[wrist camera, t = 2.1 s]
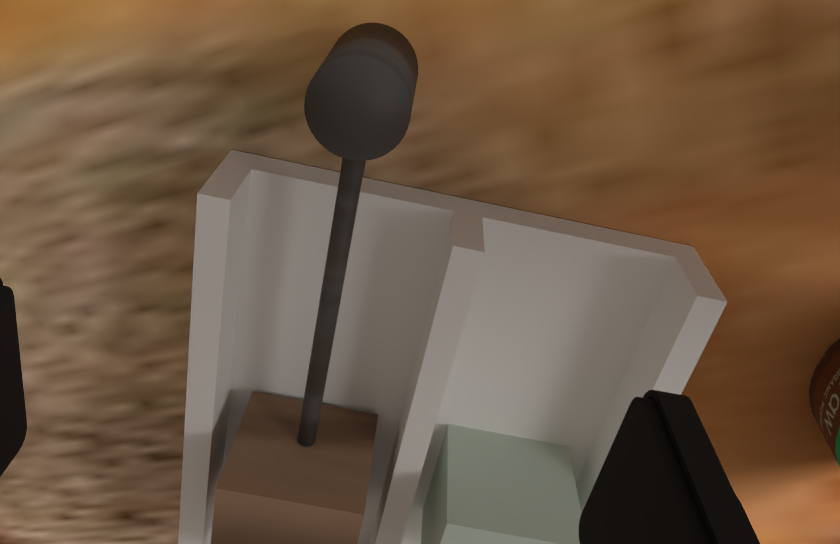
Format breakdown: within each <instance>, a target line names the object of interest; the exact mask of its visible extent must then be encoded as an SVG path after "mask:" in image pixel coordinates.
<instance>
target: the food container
mask: <svg viewBox="0 0 840 544" xmlns="http://www.w3.org/2000/svg"><path fill="white" fill-rule="evenodd" d="M809 395H810V405H811V409H812V413H813V415H814V417H815V419H816V421H817V423H818V425H819V427H820V429H821V431H822V433H823V435H824V437H825V438H826V440H827V442H828V444H829V446H830V448H831V450H832V452H833V454H834V456H835V458H836V460H837V462H838V464H839V466H840V339H839V340H837V341H836V342H835V343H834V344H833V345H832V346H831V347H830V348H829V349H828V350H827V352H826V353H825V355H824V356H823V358H822V359H821V361H820V362H819V364H818V365H817V367H816V370H815V372H814V375H813V377H812V380H811V385H810V390H809Z"/></svg>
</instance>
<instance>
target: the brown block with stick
mask: <svg viewBox="0 0 840 544" xmlns="http://www.w3.org/2000/svg"><path fill="white" fill-rule="evenodd" d="M417 76H418V62H417V58H416V54H415V52H414V49H413V48H412V46H411V44H410V43H409V41H408V40H407V39H406V38H405V37H404V36H403V35H402V34H401V33H400V32H399V31H397V30H395V29H394V28H392V27H390V26H387V25H384V24H379V23H364V24H360V25H357V26H355V27H353V28H351V29H349V30H348V31H346V32H345V33H344V34H343V35H342V36H341V37H340V38H339V39H338V41H337V42H336V44H335V45H334V47H333V48H332V50H331V51H330V53H329V54H328V56H327V57H326V59H325V60H324V62H323V63H322V65H321V66H320V68H319V69H318V71H317V72H316V74H315V75H314V77H313V78H312V80H311V82H310V84H309V86H308V89H307V91H306V96H305V104H304V107H305V116H306V120H307V123H308V126H309V128H310V130H311V132H312V134H313V135H314V137H315V138H316V139H317V140H318V142H319V143H320V144H321V145H322V146H323V147H324V148H326V149H327V150H329V151H330V152H332V153H333V154H335V155H337V156H340V157H342V158H343V159H342V165H341V172H340V178H339V184H338V190H337V196H336V202H335V209H334V215H333V221H332V227H331V233H330V240H329V246H328V252H327V258H326V264H325V270H324V277H323V283H322V289H321V295H320V301H319V307H318V314H317V320H316V326H315V332H314V338H313V345H312V351H311V357H310V363H309V369H308V375H307V382H306V388H305V394H304V400H303V401H302V400H297V399H291V398H286V397H281V396H275V395H270V394H265V393H259V392H254V391H253V392H252V394H251V397H250V400H249V402H248V405H247V407H246V410H245V413H244V415H243V418H242V420H241V423H240V426H239V428H238V431H237V433H236V436H235V439H234V441H233V444H232V446H231V449H230V452H229V454H228V457H227V460H226V462H225V465H224V467H223V470H222V473H221V475H220V478H219V480H218V483H217V486H216V488H215V499H214V511H213V522H212V533H211V544H357V543H358V539H359V534H360V530H361V526H362V522H363V518H364V513H365V506H366V499H367V492H368V485H369V478H370V470H371V463H372V456H373V449H374V442H375V435H376V428H377V420H378V415H377V414H371V413H366V412H361V411H355V410H350V409H345V408H339V407H334V406H329V405H323V404H322V401H323V396H324V390H325V384H326V379H327V373H328V368H329V362H330V357H331V351H332V345H333V340H334V334H335V329H336V323H337V318H338V312H339V306H340V301H341V295H342V290H343V284H344V279H345V273H346V267H347V262H348V256H349V251H350V245H351V240H352V234H353V228H354V223H355V217H356V212H357V206H358V200H359V195H360V189H361V184H362V178H363V173H364V167H365V161H366V160H371V159H376V158H378V157H381V156H383V155H385V154H387V153H388V152H390V151H391V150H393V149H394V148H395V147H396V146H397V145H398V144H399V143H400V141H401V140H402V138H403V137H404V135H405V133H406V131H407V129H408V125H409V122H410V116H411V110H412V105H413V99H414V94H415V88H416V82H417Z"/></svg>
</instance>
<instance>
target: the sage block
mask: <svg viewBox="0 0 840 544" xmlns="http://www.w3.org/2000/svg"><path fill="white" fill-rule="evenodd" d="M581 514H582V513H581V508H580V503H579V498H578V493H577V488H576V482H575V477H574V472H573V467H572V462H571V456H570V451H569V446H564V445H559V444H553V443H548V442H543V441H538V440H532V439H527V438H522V437H516V436H511V435H506V434H500V433H495V432H490V431H484V430H479V429H474V428H468V427H463V426H458V425H453V424H448V426H447V430H446V433H445V436H444V439H443V443H442V446H441V449H440V453H439V456H438V459H437V463H436V466H435V469H434V473H433V476H432V479H431V483H430V486H429V489H428V493H427V496H426V499H425V503H424V506H423V513H422V532H421V544H580V541H579V530H578V529H579V521H580V517H581Z"/></svg>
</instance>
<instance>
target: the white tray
mask: <svg viewBox="0 0 840 544" xmlns="http://www.w3.org/2000/svg"><path fill="white" fill-rule="evenodd" d="M339 178H340V172H336V171H331V170H326V169H321V168H317V167H312V166H307V165H302V164H298V163H293V162H288V161H283V160H278V159H274V158H269V157H264V156H259V155H255V154H250V153H245V152H240V151H235V150H231V151H230V152H229V153H228V155H227V156H226V157H225V159H224V160H223V161H222V162H221V164H220V165H219V166H218V167H217V169H216V170H215V171H214V173H213V174H212V175H211V176H210V178H209V179H208V180H207V182H206V183H205V184H204V185H203V187H202V188H201V189H200V191H199V192H198V193H197V208H196V226H195V244H194V263H193V281H192V299H191V318H190V336H189V354H188V372H187V391H186V409H185V427H184V446H183V464H182V482H181V501H180V519H179V537H178V544H211V533H212V522H213V511H214V499H215V488H216V486H217V483H218V480H219V478H220V475H221V473H222V470H223V467H224V465H225V462H226V460H227V457H228V454H229V452H230V449H231V446H232V444H233V441H234V439H235V436H236V433H237V431H238V428H239V426H240V423H241V420H242V418H243V415H244V413H245V410H246V407H247V405H248V402H249V400H250V397H251V394H252V392H253V391H254V392H259V393H265V394H270V395H275V396H281V397H286V398H291V399H297V400H302V401H303V400H304V394H305V388H306V382H307V375H308V369H309V363H310V357H311V351H312V345H313V338H314V332H315V326H316V320H317V314H318V307H319V301H320V295H321V289H322V283H323V277H324V270H325V264H326V258H327V252H328V246H329V240H330V233H331V227H332V221H333V215H334V209H335V202H336V196H337V190H338V184H339ZM726 304H727V300H726V298H725V297H724V295H723V294H722V292H721V290H720V289H719V287H718V285H717V284H716V282H715V281H714V279H713V277H712V276H711V274H710V273H709V271H708V269H707V268H706V266H705V264H704V263H703V261H702V260H701V258H700V256H699V255H698V253H697V252H696V250H695V248H694V247H693V246H689V245H684V244H680V243H675V242H670V241H665V240H661V239H656V238H651V237H646V236H641V235H637V234H632V233H627V232H622V231H618V230H613V229H608V228H603V227H598V226H594V225H589V224H584V223H579V222H575V221H570V220H565V219H560V218H555V217H551V216H546V215H541V214H536V213H532V212H527V211H522V210H517V209H513V208H508V207H503V206H498V205H493V204H489V203H484V202H479V201H474V200H470V199H465V198H460V197H455V196H450V195H446V194H441V193H436V192H431V191H427V190H422V189H417V188H412V187H407V186H403V185H398V184H393V183H388V182H384V181H379V180H374V179H369V178H364V177H363V178H362V184H361V189H360V195H359V200H358V206H357V212H356V217H355V223H354V228H353V234H352V240H351V245H350V251H349V256H348V262H347V267H346V273H345V279H344V284H343V290H342V295H341V301H340V306H339V312H338V318H337V323H336V329H335V334H334V340H333V345H332V351H331V357H330V362H329V368H328V373H327V379H326V384H325V390H324V396H323V401H322V404H323V405H329V406H334V407H339V408H345V409H350V410H355V411H361V412H366V413H371V414H377V415H378V420H377V428H376V435H375V442H374V449H373V456H372V463H371V470H370V478H369V485H368V492H367V499H366V506H365V513H364V518H363V522H362V526H361V530H360V534H359V539H358V543H357V544H421V532H422V513H423V506H424V503H425V499H426V496H427V493H428V489H429V486H430V483H431V479H432V476H433V473H434V469H435V466H436V463H437V459H438V456H439V453H440V449H441V446H442V443H443V439H444V436H445V433H446V430H447V426H448V424H453V425H458V426H463V427H468V428H474V429H479V430H484V431H490V432H495V433H500V434H506V435H511V436H516V437H522V438H527V439H532V440H538V441H543V442H548V443H553V444H559V445H564V446H569V451H570V456H571V462H572V467H573V472H574V477H575V482H576V488H577V493H578V498H579V503H580V508H581V513H582V511H583V509H584V507H585V504H586V502H587V500H588V498H589V495H590V493H591V491H592V489H593V486H594V484H595V482H596V480H597V477H598V475H599V473H600V471H601V468H602V466H603V464H604V462H605V459H606V457H607V455H608V453H609V450H610V448H611V446H612V444H613V441H614V439H615V437H616V435H617V432H618V430H619V428H620V426H621V423H622V421H623V419H624V417H625V414H626V412H627V410H628V408H629V405H630V403H631V401H632V400H633V399H634V398H635V397H642V398H643V396H644V394H645V393H646V392H647V391H648V390H657V391H662V392H668V393H674V394H679V395H681V394H682V392H683V390H684V388H685V386H686V384H687V382H688V380H689V378H690V376H691V374H692V372H693V370H694V368H695V366H696V364H697V362H698V360H699V358H700V356H701V354H702V352H703V350H704V348H705V346H706V344H707V342H708V340H709V338H710V336H711V334H712V332H713V330H714V328H715V326H716V324H717V322H718V320H719V318H720V316H721V314H722V312H723V310H724V308H725V306H726Z"/></svg>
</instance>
